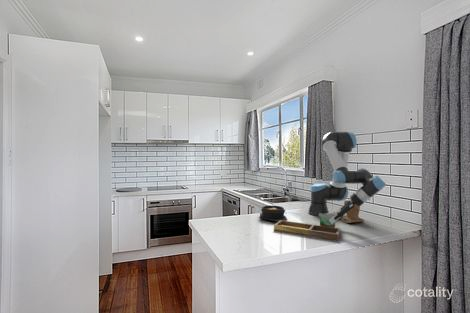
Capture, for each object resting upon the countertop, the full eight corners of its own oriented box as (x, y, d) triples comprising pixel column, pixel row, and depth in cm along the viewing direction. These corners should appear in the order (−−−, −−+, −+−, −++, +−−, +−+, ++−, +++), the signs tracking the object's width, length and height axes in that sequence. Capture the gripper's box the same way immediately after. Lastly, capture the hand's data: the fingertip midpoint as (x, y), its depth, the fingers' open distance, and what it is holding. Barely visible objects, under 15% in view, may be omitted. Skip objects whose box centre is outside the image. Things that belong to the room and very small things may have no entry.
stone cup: (352, 218, 183) (352, 198, 183) (366, 222, 172) (367, 200, 172) (336, 220, 177) (336, 199, 177) (350, 225, 166) (350, 202, 166)
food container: (325, 231, 150) (325, 215, 150) (318, 229, 156) (318, 212, 156) (341, 230, 154) (341, 213, 154) (334, 227, 160) (334, 211, 160)
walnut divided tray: (280, 225, 162) (280, 220, 162) (340, 234, 145) (340, 228, 145) (273, 230, 151) (273, 224, 151) (337, 241, 134) (337, 234, 134)
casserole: (294, 222, 170) (294, 210, 170) (269, 225, 163) (269, 212, 163) (276, 214, 193) (276, 203, 193) (253, 216, 187) (253, 204, 187)
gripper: (364, 206, 134) (333, 229, 142) (365, 199, 156) (338, 220, 164) (353, 195, 137) (324, 219, 144) (355, 189, 159) (330, 211, 166)
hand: (331, 219), depth 154 cm, fingers open, 13 cm apart
